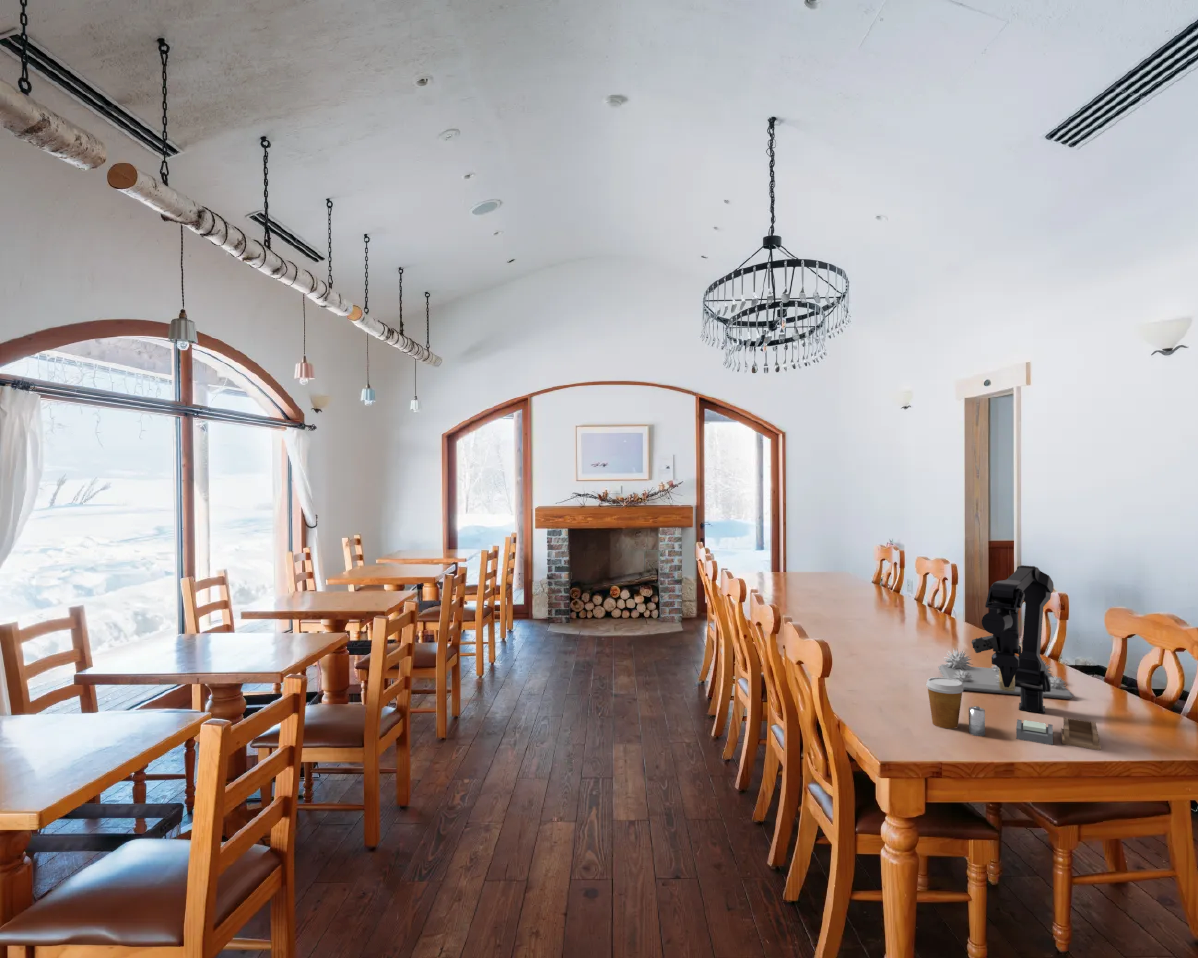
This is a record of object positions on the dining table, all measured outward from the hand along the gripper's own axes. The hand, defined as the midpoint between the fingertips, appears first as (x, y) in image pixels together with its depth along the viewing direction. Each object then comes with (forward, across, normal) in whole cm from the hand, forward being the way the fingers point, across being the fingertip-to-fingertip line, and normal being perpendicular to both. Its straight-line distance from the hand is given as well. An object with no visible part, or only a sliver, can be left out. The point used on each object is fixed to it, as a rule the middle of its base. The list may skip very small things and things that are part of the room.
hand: (1007, 685), depth 191 cm
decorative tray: (+12, -44, -4) cm, 46 cm away
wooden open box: (+11, +3, +16) cm, 20 cm away
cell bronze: (+1, 0, 0) cm, 1 cm away
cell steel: (+11, +11, -6) cm, 17 cm away
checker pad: (+9, +6, +6) cm, 13 cm away
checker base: (+11, +6, +6) cm, 14 cm away
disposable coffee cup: (+11, +8, -14) cm, 20 cm away
